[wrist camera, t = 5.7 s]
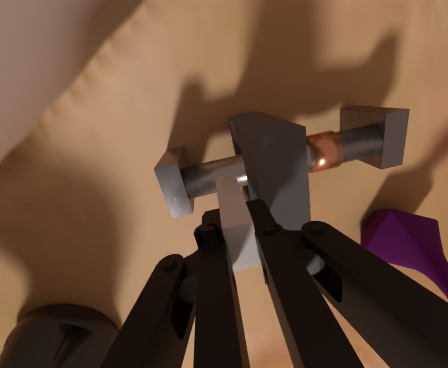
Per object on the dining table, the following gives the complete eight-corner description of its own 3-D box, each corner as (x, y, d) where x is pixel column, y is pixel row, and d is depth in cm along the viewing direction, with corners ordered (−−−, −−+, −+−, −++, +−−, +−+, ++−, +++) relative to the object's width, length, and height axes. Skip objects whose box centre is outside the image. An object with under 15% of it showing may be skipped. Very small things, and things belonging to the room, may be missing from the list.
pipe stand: (179, 189, 26) (171, 219, 19) (166, 150, 24) (153, 169, 17) (355, 148, 26) (404, 165, 19) (357, 105, 24) (412, 109, 17)
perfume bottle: (386, 249, 33) (574, 408, 16) (344, 241, 31) (504, 405, 15) (414, 207, 30) (675, 346, 13) (371, 196, 29) (601, 336, 12)
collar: (242, 193, 25) (271, 264, 15) (227, 117, 22) (250, 139, 11) (267, 188, 25) (312, 254, 15) (256, 111, 22) (305, 126, 11)
